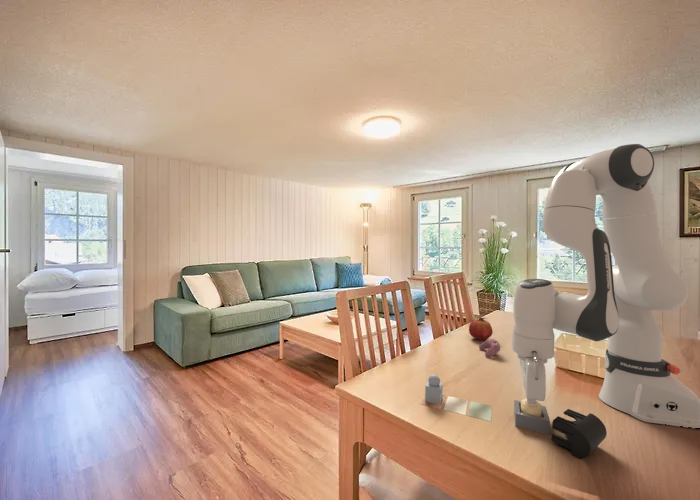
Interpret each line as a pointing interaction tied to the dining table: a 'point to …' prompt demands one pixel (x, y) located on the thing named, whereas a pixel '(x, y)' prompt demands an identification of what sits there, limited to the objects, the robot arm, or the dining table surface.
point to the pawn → (433, 390)
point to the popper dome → (531, 408)
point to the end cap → (579, 433)
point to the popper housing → (531, 419)
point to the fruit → (480, 329)
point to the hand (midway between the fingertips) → (530, 401)
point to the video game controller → (490, 347)
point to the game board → (463, 407)
